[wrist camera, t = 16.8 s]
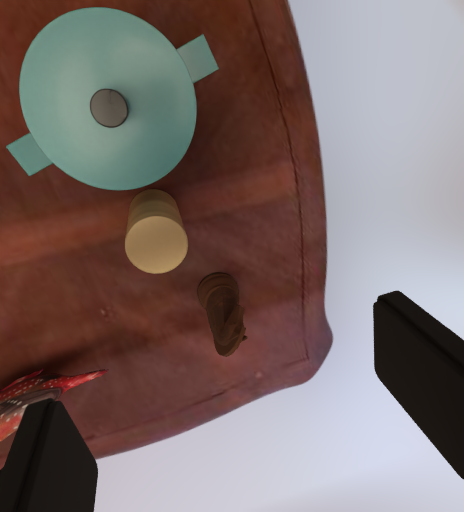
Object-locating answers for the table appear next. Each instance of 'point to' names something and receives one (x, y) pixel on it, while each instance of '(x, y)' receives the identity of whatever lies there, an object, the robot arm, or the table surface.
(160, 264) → the cylinder
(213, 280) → the chess piece
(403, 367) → the robot arm
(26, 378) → the decorative bird figurine
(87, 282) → the table surface
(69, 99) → the pot lid
